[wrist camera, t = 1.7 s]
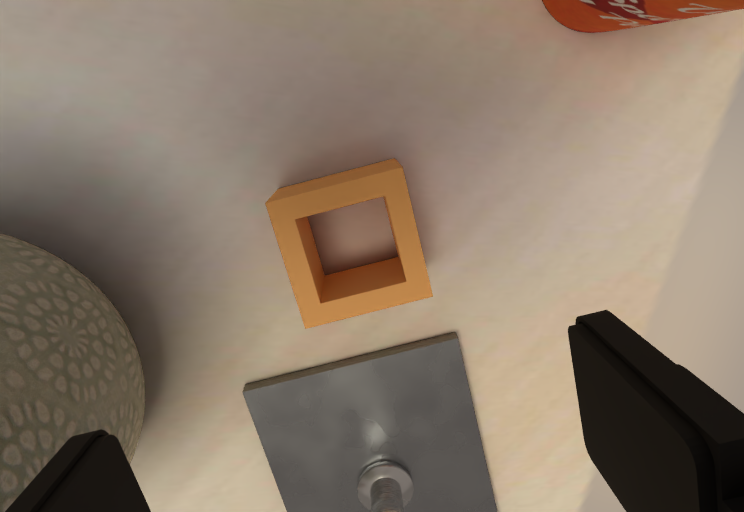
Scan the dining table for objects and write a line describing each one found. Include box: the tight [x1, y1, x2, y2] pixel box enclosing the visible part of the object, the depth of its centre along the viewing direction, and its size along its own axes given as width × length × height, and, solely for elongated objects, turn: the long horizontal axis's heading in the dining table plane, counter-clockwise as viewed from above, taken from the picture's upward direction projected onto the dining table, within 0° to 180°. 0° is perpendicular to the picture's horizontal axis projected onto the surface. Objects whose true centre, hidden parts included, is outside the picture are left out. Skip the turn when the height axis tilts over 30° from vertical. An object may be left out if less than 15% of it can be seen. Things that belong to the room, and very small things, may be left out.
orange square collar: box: [265, 158, 433, 329], centre depth 24 cm, size 6×6×4 cm
